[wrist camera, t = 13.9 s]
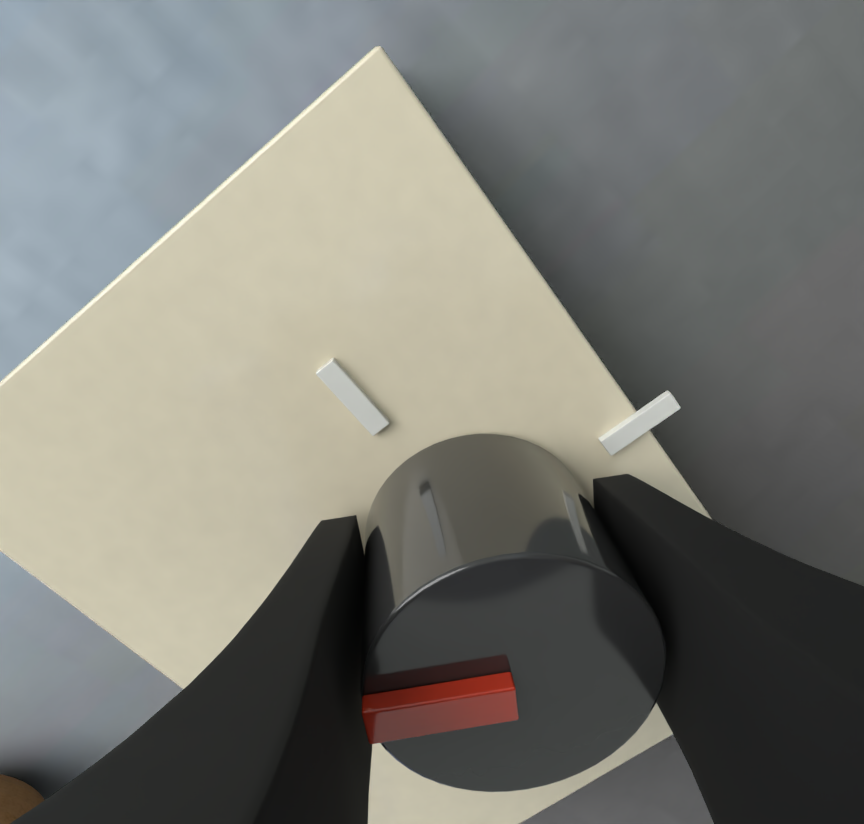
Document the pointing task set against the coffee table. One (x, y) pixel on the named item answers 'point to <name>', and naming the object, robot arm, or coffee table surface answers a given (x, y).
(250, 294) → the cream dial panel
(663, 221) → the coffee table surface
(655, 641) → the knob
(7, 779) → the egg
